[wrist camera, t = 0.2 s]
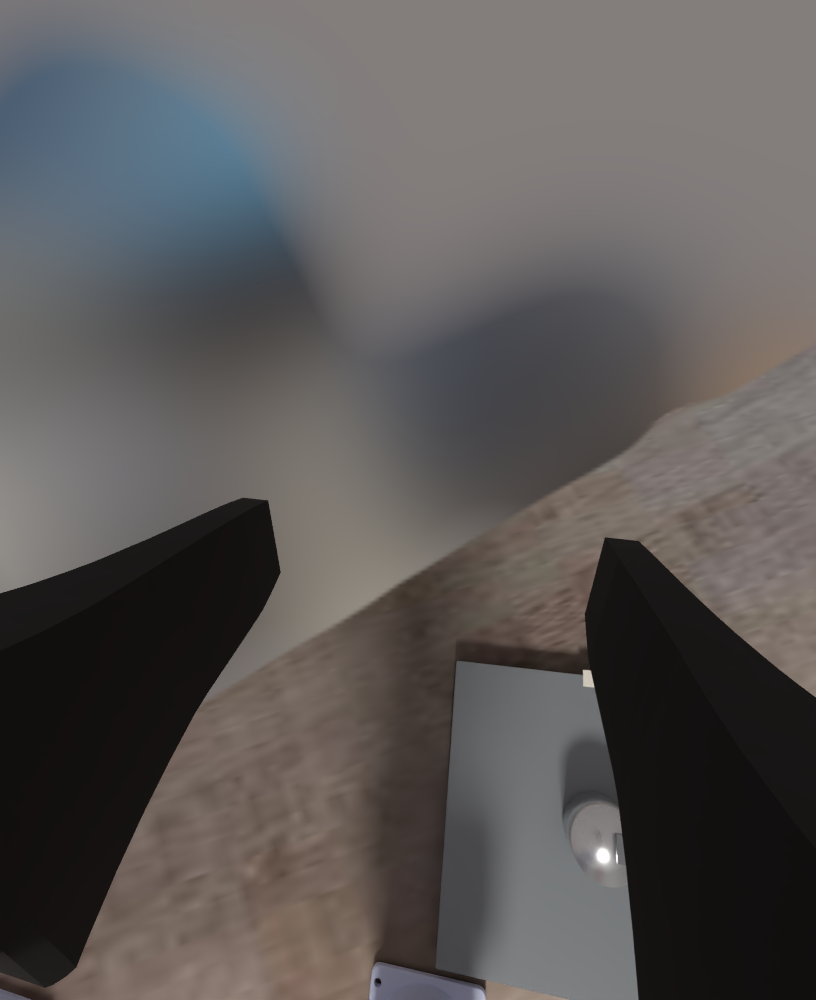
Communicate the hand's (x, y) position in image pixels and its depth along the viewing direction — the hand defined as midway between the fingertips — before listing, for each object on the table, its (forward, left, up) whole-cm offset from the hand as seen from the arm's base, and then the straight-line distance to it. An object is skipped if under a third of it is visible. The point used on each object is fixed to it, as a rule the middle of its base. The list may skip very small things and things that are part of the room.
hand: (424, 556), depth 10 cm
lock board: (-13, -10, -31) cm, 35 cm away
